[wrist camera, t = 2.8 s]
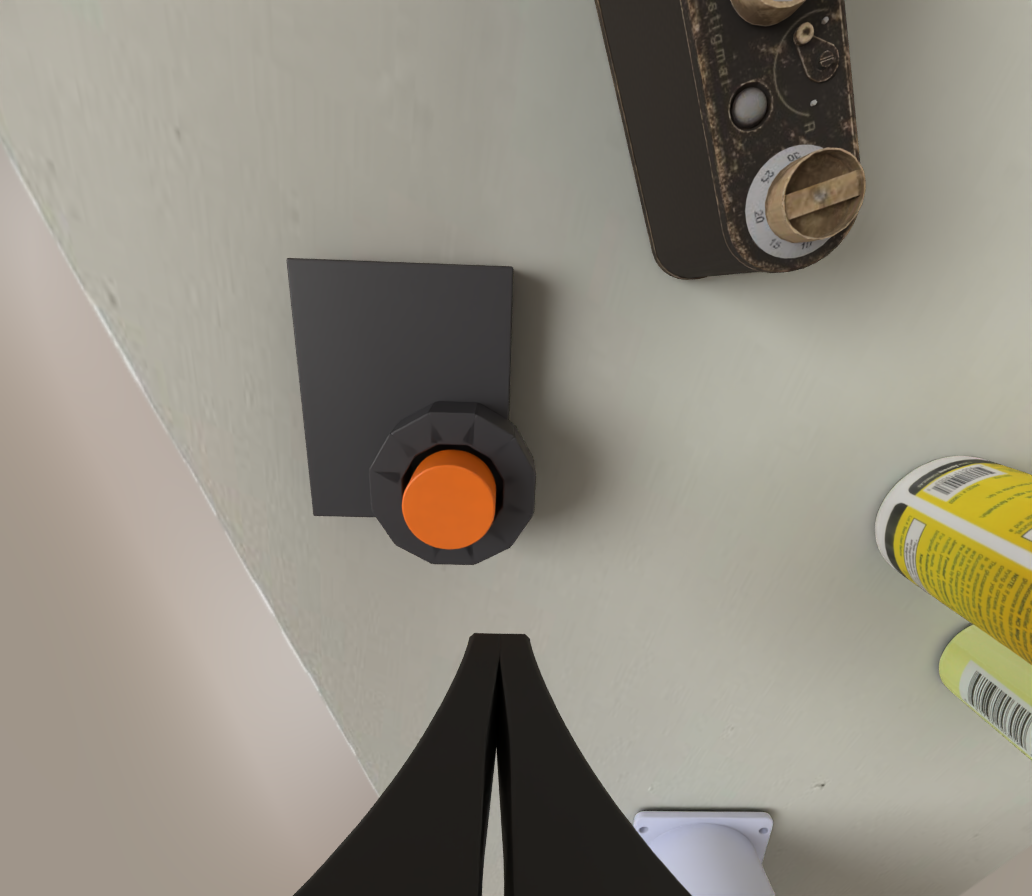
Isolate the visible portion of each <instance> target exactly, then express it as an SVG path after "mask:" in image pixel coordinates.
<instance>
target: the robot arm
mask: <svg viewBox="0 0 1032 896" xmlns="http://www.w3.org/2000/svg"><path fill="white" fill-rule="evenodd" d="M496 745H497V746H496ZM496 747H497V763H498V779H499V794H500V810H501V826H502V841H503V857H504V896H776V895H775V893H774V891H773V889H772V886H771V884H770V882H769V880H768V877H767V875H766V873H765V871H764V868H763V866H762V862H763V859H764V855H765V852H766V848H767V845H768V841H769V837H770V834H771V830H772V827H773V820H772V818H771V816H770V814H768V813H766V812H704V811H641V812H638V813H637V814H636V815H635V817H634V824H633V826H632V824H631V823H630V822H629V820H628V819H627V818H626V817H625V815H624V814H623V813H622V812H621V810H620V809H619V808H618V806H617V805H616V804H615V802H614V801H613V799H612V798H611V797H610V795H609V794H608V792H607V791H606V790H605V788H604V787H603V785H602V784H601V782H600V781H599V779H598V778H597V776H596V775H595V773H594V772H593V770H592V769H591V767H590V766H589V764H588V763H587V761H586V759H585V758H584V756H583V755H582V753H581V751H580V750H579V748H578V746H577V745H576V743H575V741H574V739H573V738H572V736H571V734H570V732H569V730H568V729H567V727H566V725H565V723H564V721H563V720H562V718H561V716H560V714H559V712H558V710H557V708H556V706H555V704H554V702H553V699H552V697H551V695H550V693H549V691H548V689H547V687H546V685H545V682H544V680H543V678H542V675H541V673H540V670H539V668H538V665H537V662H536V660H535V657H534V654H533V650H532V647H531V643H530V639H529V638H528V637H527V636H526V635H525V634H484V633H474V634H473V635H472V636H471V637H470V638H469V642H468V645H467V648H466V651H465V654H464V657H463V659H462V662H461V664H460V667H459V669H458V671H457V673H456V676H455V678H454V680H453V682H452V684H451V686H450V688H449V690H448V692H447V694H446V696H445V698H444V700H443V702H442V703H441V705H440V707H439V709H438V711H437V712H436V714H435V716H434V717H433V719H432V721H431V723H430V724H429V726H428V728H427V729H426V731H425V733H424V735H423V736H422V738H421V739H420V741H419V743H418V744H417V746H416V747H415V749H414V750H413V752H412V753H411V755H410V756H409V758H408V759H407V761H406V762H405V764H404V765H403V766H402V768H401V769H400V771H399V772H398V774H397V775H396V776H395V778H394V779H393V781H392V782H391V783H390V784H389V786H388V787H387V788H386V790H385V791H384V792H383V794H382V795H381V796H380V798H379V799H378V800H377V802H376V803H375V804H374V806H373V807H372V808H371V809H370V811H369V812H368V813H367V814H366V816H365V817H364V818H363V819H362V820H361V822H360V823H359V824H358V825H357V826H356V828H355V829H354V830H353V831H352V832H351V833H350V834H349V835H348V837H347V838H346V839H345V840H344V841H343V842H342V843H341V845H340V846H339V847H338V848H337V849H336V850H335V851H334V853H333V854H332V855H331V856H330V857H329V858H328V859H327V861H326V862H325V863H324V864H323V865H322V866H321V867H320V868H319V869H318V870H317V871H316V873H315V874H314V875H313V876H312V877H311V878H310V879H309V880H308V881H307V882H306V883H305V884H304V885H303V886H302V887H301V888H300V889H299V890H298V891H297V892H296V893H295V894H294V895H293V896H482V880H483V867H484V855H485V846H486V837H487V828H488V819H489V810H490V801H491V792H492V783H493V773H494V764H495V755H496Z"/></svg>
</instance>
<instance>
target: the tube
mask: <svg viewBox="0 0 1032 896" xmlns="http://www.w3.org/2000/svg"><path fill="white" fill-rule="evenodd" d="M939 674H940V678H941V680H942V682H943V683H944V685H945V686H946V687H947V688H948V689H949V690H950V691H951V692H952V693H953V694H954V695H956V696H957V697H958V698H959V699H960V700H961V701H963V702H964V703H965V704H966V705H967V706H968V707H970V708H971V709H972V710H973V711H974V712H975V713H977V714H978V715H979V716H980V717H981V718H982V719H984V720H985V721H986V722H987V723H988V724H989V725H991V726H992V727H993V728H994V729H995V730H996V731H998V732H999V733H1000V734H1001V735H1002V736H1003V737H1005V738H1006V739H1007V740H1008V741H1009V742H1011V743H1012V744H1013V745H1014V746H1015V747H1016V748H1018V749H1019V750H1020V751H1021V752H1022V753H1024V754H1025V755H1026V756H1027V757H1028V758H1029V759H1031V760H1032V665H1031V664H1029V663H1028V662H1026V661H1025V660H1024V659H1022V658H1021V657H1019V656H1018V655H1017V654H1015V653H1014V652H1012V651H1011V650H1010V649H1008V648H1007V647H1005V646H1004V645H1002V644H1001V643H999V642H998V641H996V640H995V639H994V638H992V637H991V636H989V635H988V634H987V633H985V632H984V631H982V630H980V629H979V628H978V627H976V626H975V625H974V624H973V625H971V626H969V627H967V628H966V629H964V630H963V631H961V632H960V633H959V634H957V635H956V636H955V637H954V638H953V639H952V640H951V641H950V643H949V644H948V645H947V647H946V648H945V650H944V652H943V654H942V656H941V658H940V662H939Z"/></svg>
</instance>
